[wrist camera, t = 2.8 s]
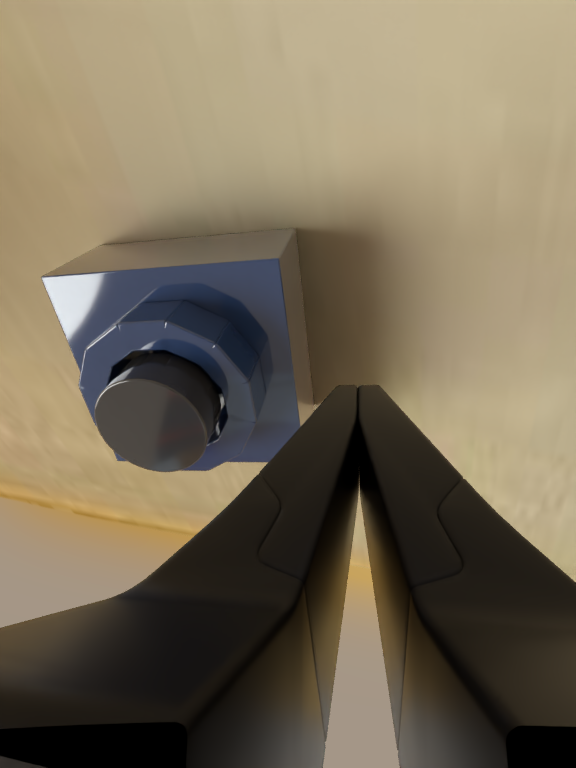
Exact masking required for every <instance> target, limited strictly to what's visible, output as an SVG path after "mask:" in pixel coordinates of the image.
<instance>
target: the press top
mask: <svg viewBox="0 0 576 768" xmlns="http://www.w3.org/2000/svg"><path fill="white" fill-rule="evenodd" d="M94 412H95V421H96V425H97V428H98V430H99V432H100V434H101V436H102V437H103V439H104V441H105V442H106V443H107V444H108V445H109V447H110V448H111V449H112V450H113V451H115V452H116V453H117V454H118V455H119V456H121V457H122V458H124V459H125V460H127V461H129V462H130V463H132V464H134V465H137V466H139V467H142V468H144V469H148V470H152V471H158V472H174V471H179V470H183V469H185V468H188V467H190V466H191V465H193V464H195V463H196V462H197V461H198V460H199V459H200V458H201V457H202V455H203V453H204V452H205V449H206V447H207V445H208V443H209V441H210V439H211V436H212V434H213V432H214V430H215V428H216V425H217V423H218V421H219V418H220V414H221V402H220V397H219V394H218V391H217V389H216V387H215V385H214V384H213V382H212V381H211V379H210V378H209V377H208V376H207V375H206V374H205V373H204V372H203V371H202V370H201V369H200V368H199V367H197V366H196V365H194V364H193V363H191V362H190V361H188V360H186V359H184V358H181V357H178V356H175V355H171V354H166V353H149V354H145V355H141V356H139V357H136V358H135V359H133V360H131V361H130V362H129V363H128V364H127V365H126V366H125V367H124V368H123V369H122V370H121V371H120V372H119V373H118V375H117V376H116V377H115V378H114V379H113V380H112V381H111V382H110V383H109V384H108V385H107V387H106V388H105V389H104V390H103V391H102V392H101V394H100V395H99V397H98V399H97V401H96V404H95V411H94Z"/></svg>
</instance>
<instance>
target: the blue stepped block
mask: <svg viewBox="0 0 576 768" xmlns="http://www.w3.org/2000/svg"><path fill="white" fill-rule="evenodd" d="M41 279H42V281H43V284H44V286H45V288H46V291H47V293H48V296H49V298H50V300H51V303H52V305H53V308H54V310H55V312H56V315H57V317H58V319H59V322H60V324H61V327H62V329H63V331H64V334H65V336H66V339H67V341H68V343H69V346H70V348H71V351H72V353H73V355H74V358H75V360H76V362H77V365H78V367H79V370H80V372H81V373H80V379H79V389H80V391H81V393H82V396H83V398H84V400H85V403H86V405H87V407H88V410H89V412H90V414H91V417H92V419H93V421H94V423H95V425H96V421H95V412H94V411H95V404H96V401H97V399H98V397H99V395H100V394H101V392H102V391H103V390H104V389H105V388H106V387H107V385H108V384H109V383H110V382H111V381H112V380H113V379H114V378H115V377H116V376H117V375H118V373H119V372H120V371H121V370H122V369H123V368H124V367H125V366H126V365H127V364H128V363H129V362H130V361H131V360H133V359H135V358H136V357H139V356H141V355H145V354H149V353H166V354H171V355H175V356H178V357H181V358H184V359H186V360H188V361H190V362H191V363H193V364H194V365H196V366H197V367H199V368H200V369H201V370H202V371H203V372H204V373H205V374H206V375H207V376H208V377H209V378H210V379H211V381H212V382H213V384H214V385H215V387H216V389H217V391H218V394H219V397H220V402H221V414H220V418H219V421H218V423H217V425H216V428H215V430H214V432H213V434H212V436H211V439H210V441H209V443H208V445H207V447H206V449H205V452H204V453H203V455H202V457H201V458H200V459H199V460H198V461H197V462H196V463H195V464H193V465H191V466H190V467H188V468H185V469H183V470H180V471H207V470H211V469H213V468H215V467H217V466H219V465H221V464H223V463H225V462H269V461H270V460H271V459H272V458H273V457H274V456H275V455H276V454H277V452H278V451H279V450H280V449H281V448H282V447H283V446H284V445H285V443H286V442H287V441H288V440H289V439H290V438H291V437H292V436H293V435H294V433H295V432H296V431H297V430H298V429H299V428H300V427H301V426H302V425H303V423H304V422H305V421H306V420H307V419H308V418H309V417H310V416H311V415H312V413H313V409H314V400H313V390H312V380H311V371H310V361H309V351H308V342H307V332H306V322H305V313H304V303H303V293H302V284H301V274H300V264H299V255H298V245H297V235H296V229H295V228H288V229H277V230H266V231H254V232H243V233H232V234H221V235H210V236H198V237H187V238H176V239H165V240H154V241H142V242H131V243H120V244H109V245H100V246H98V247H96V248H94V249H92V250H90V251H89V252H87V253H85V254H83V255H81V256H79V257H77V258H75V259H73V260H72V261H70V262H68V263H66V264H64V265H62V266H60V267H58V268H57V269H55V270H53V271H51V272H49V273H47V274H45V275H43V276H42V277H41ZM96 426H97V425H96ZM114 453H115V456H116V458H117V460H118V461H127V460H125V459H124V458H122V457H121V456H119V455H118V454H117V453H116V452H115V451H114Z"/></svg>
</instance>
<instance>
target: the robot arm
mask: <svg viewBox="0 0 576 768" xmlns="http://www.w3.org/2000/svg"><path fill="white" fill-rule="evenodd" d="M359 485H360V497H361V505H362V512H363V519H364V526H365V533H366V539H367V546H368V553H369V560H370V567H371V573H372V580H373V587H374V594H375V600H376V608H377V614H378V621H379V628H380V635H381V642H382V648H383V655H384V662H385V669H386V675H387V683H388V689H389V696H390V703H391V710H392V717H393V724H394V730H395V737H396V744H397V750H398V758H399V765H400V768H576V582H575V581H573V580H572V579H571V578H570V577H569V576H568V575H566V574H565V573H564V572H563V571H562V570H561V569H560V568H558V567H557V566H556V565H555V564H554V563H553V562H552V561H550V560H549V559H548V558H547V557H546V556H545V555H544V554H542V553H541V552H540V551H539V550H538V549H537V548H536V547H534V546H533V545H532V544H531V543H530V542H529V541H528V540H526V539H525V538H524V537H523V536H522V535H521V534H520V533H519V532H517V531H516V530H515V529H514V528H513V527H512V526H511V525H510V524H509V523H508V522H507V521H505V520H504V519H503V518H502V517H501V516H500V515H499V514H498V513H497V512H496V511H495V510H494V509H493V508H492V507H491V506H490V505H489V504H488V503H487V502H486V501H485V500H484V499H483V498H482V497H481V496H480V495H479V494H478V493H477V492H476V491H475V489H474V488H473V487H472V486H471V485H470V484H469V483H468V482H467V481H466V480H465V479H463V477H462V475H461V474H460V473H459V472H458V471H457V470H456V469H455V468H454V467H453V466H452V465H451V463H450V462H449V461H448V460H447V459H446V458H445V457H444V456H443V455H442V454H441V453H440V451H439V450H438V449H437V448H436V447H435V446H434V445H433V444H432V443H431V442H430V440H429V439H428V438H427V437H426V436H425V435H424V434H423V433H422V432H421V431H420V430H419V428H418V427H417V426H416V425H415V424H414V423H413V422H412V421H411V420H410V419H409V418H408V416H407V415H406V414H405V413H404V412H403V411H402V410H401V409H400V408H399V407H398V406H397V404H396V403H395V402H394V401H393V400H392V399H391V398H390V397H389V396H388V395H387V393H386V392H385V391H384V390H383V389H382V388H381V387H380V386H379V385H360V386H359V387H357V386H355V385H339V386H337V387H336V388H335V389H334V390H333V391H332V392H331V393H330V394H329V396H328V397H327V398H326V399H325V400H324V401H323V402H322V403H321V404H320V406H319V407H318V408H317V409H316V410H315V411H314V412H313V413H312V415H311V416H310V417H309V418H308V419H307V420H306V421H305V422H304V423H303V425H302V426H301V427H300V428H299V429H298V430H297V431H296V432H295V433H294V435H293V436H292V437H291V438H290V439H289V440H288V441H287V442H286V443H285V445H284V446H283V447H282V448H281V449H280V450H279V451H278V452H277V454H276V455H275V456H274V457H273V458H272V459H271V460H270V461H269V462H268V464H267V465H266V466H265V467H264V468H263V469H262V470H261V471H260V473H259V475H257V476H256V477H255V478H254V479H253V480H252V481H251V482H250V483H249V484H248V486H247V487H246V488H245V489H244V490H243V491H242V492H241V493H240V494H239V495H238V496H237V497H236V498H235V499H234V500H233V501H232V502H231V503H230V504H229V505H228V506H227V507H226V508H225V509H224V510H223V511H222V512H221V513H220V514H219V515H218V516H216V517H215V518H214V519H213V520H212V521H211V522H210V523H209V524H208V525H207V526H206V527H204V528H203V529H202V530H201V531H200V532H199V533H198V534H196V535H195V536H194V537H193V538H192V539H191V540H190V541H189V542H188V543H186V544H185V545H184V546H183V547H182V548H181V549H179V550H178V551H177V552H176V553H175V554H174V555H173V556H172V557H170V558H169V559H168V560H167V561H166V562H165V563H164V564H162V565H161V566H160V567H159V568H158V569H157V570H156V571H155V572H153V573H152V574H151V575H149V576H148V577H147V578H146V579H144V580H143V581H142V582H140V583H139V584H137V585H136V586H134V587H133V588H131V589H129V590H128V591H126V592H124V593H121V594H119V595H117V596H114V597H112V598H109V599H106V600H102V601H99V602H95V603H91V604H87V605H84V606H80V607H76V608H72V609H69V610H65V611H62V612H58V613H54V614H50V615H46V616H43V617H39V618H35V619H32V620H28V621H24V622H21V623H17V624H13V625H10V626H6V627H2V628H0V768H323V761H324V753H325V741H326V738H327V730H328V722H329V715H330V708H331V700H332V693H333V685H334V677H335V670H336V662H337V654H338V647H339V639H340V632H341V624H342V617H343V609H344V602H345V593H346V586H347V579H348V571H349V564H350V556H351V549H352V541H353V533H354V526H355V518H356V511H357V503H358V494H359Z"/></svg>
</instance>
